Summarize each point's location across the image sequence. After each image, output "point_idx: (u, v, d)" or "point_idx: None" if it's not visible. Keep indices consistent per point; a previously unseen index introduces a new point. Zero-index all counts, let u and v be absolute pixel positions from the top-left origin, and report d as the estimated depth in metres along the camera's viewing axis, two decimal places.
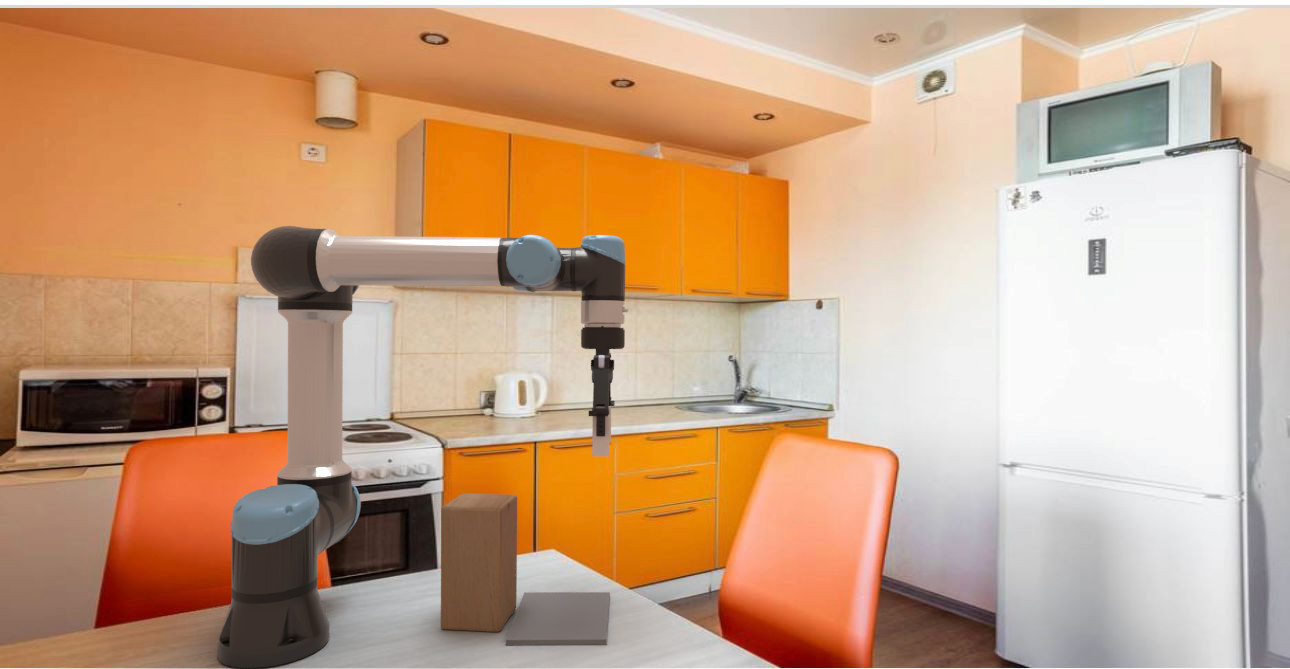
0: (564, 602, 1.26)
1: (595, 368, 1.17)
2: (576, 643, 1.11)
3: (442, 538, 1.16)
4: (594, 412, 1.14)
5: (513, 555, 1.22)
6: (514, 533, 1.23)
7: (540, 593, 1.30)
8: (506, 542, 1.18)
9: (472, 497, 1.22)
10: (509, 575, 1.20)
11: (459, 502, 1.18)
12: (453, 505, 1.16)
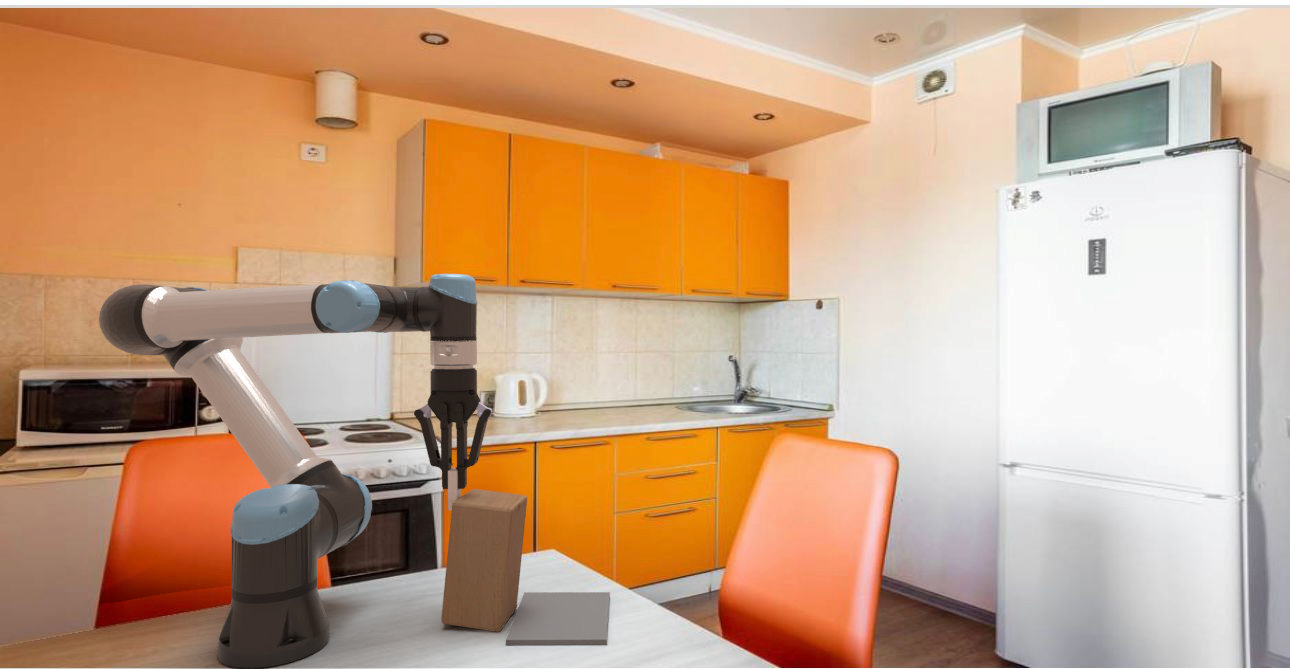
0: (564, 602, 1.26)
1: None
2: (576, 643, 1.11)
3: (450, 533, 1.15)
4: None
5: (518, 555, 1.22)
6: (521, 533, 1.22)
7: (540, 593, 1.30)
8: (513, 543, 1.18)
9: (483, 494, 1.22)
10: (513, 575, 1.20)
11: (470, 498, 1.18)
12: (464, 501, 1.16)
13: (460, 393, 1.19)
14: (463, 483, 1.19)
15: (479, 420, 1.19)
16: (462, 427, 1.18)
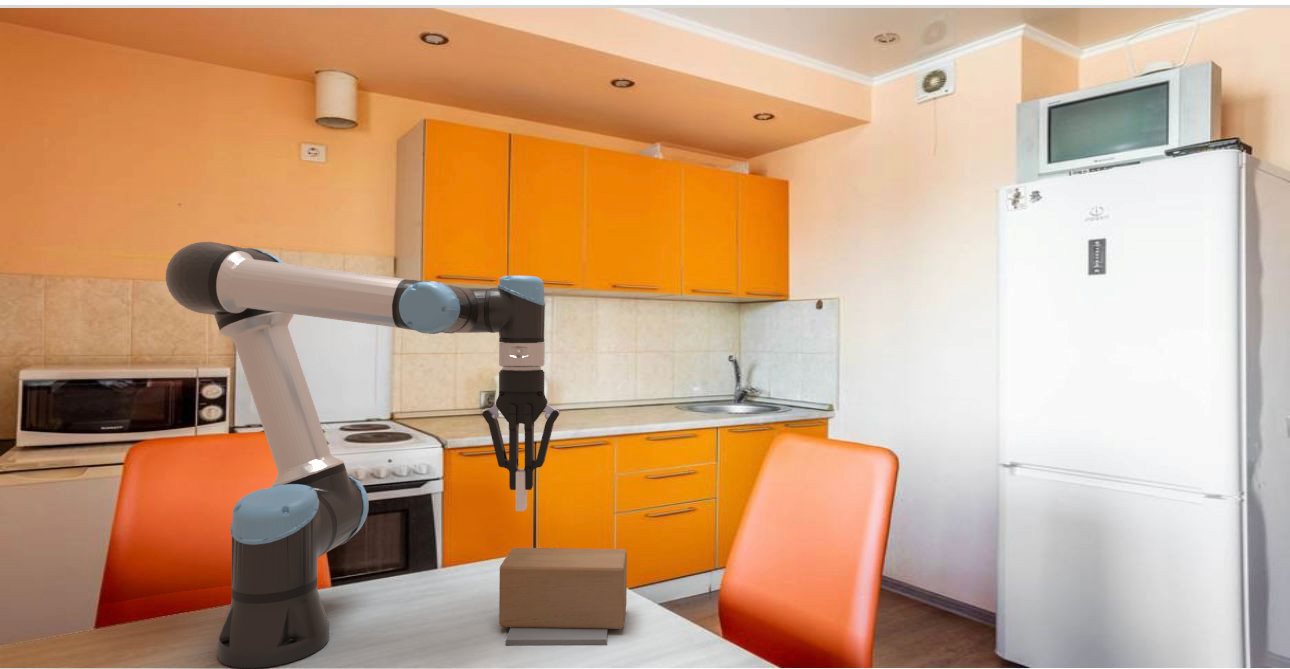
0: None
1: None
2: (576, 643, 1.11)
3: (591, 569, 1.14)
4: None
5: None
6: None
7: None
8: None
9: None
10: None
11: None
12: (624, 577, 1.15)
13: (528, 394, 1.19)
14: (530, 484, 1.20)
15: (547, 421, 1.19)
16: (530, 428, 1.19)
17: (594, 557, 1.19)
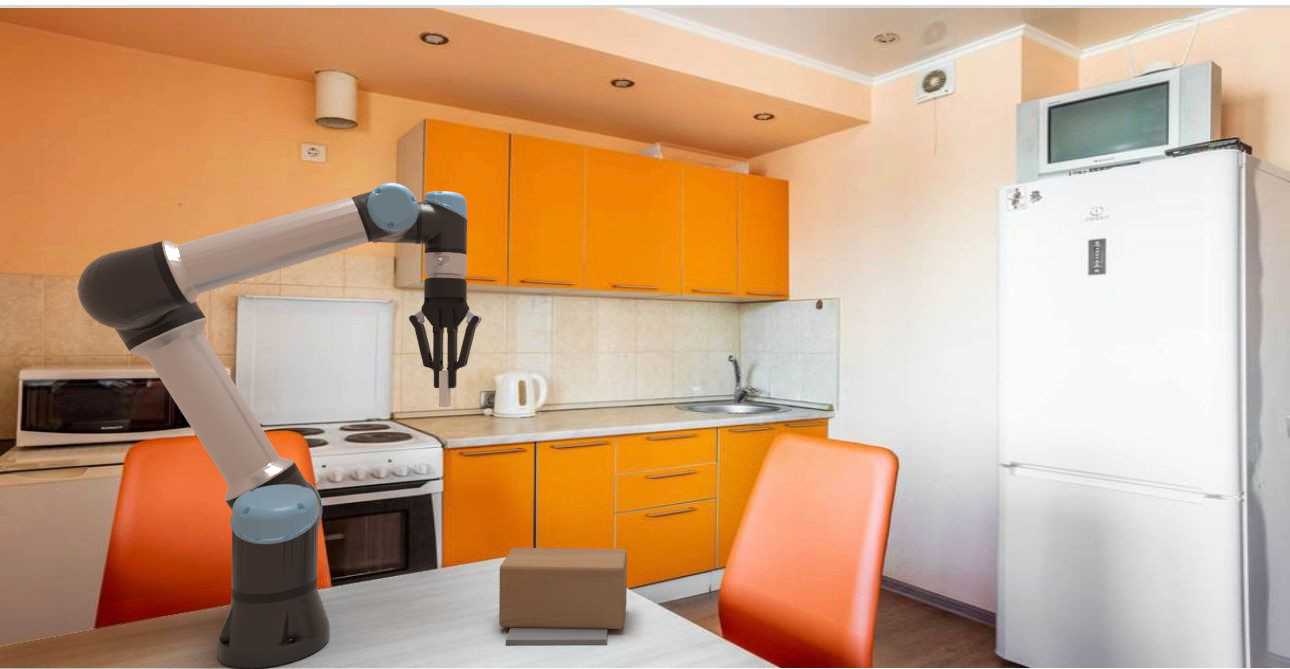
0: None
1: None
2: (576, 643, 1.11)
3: (591, 569, 1.14)
4: None
5: None
6: None
7: None
8: None
9: None
10: None
11: None
12: (624, 577, 1.15)
13: (451, 301, 1.31)
14: (453, 383, 1.31)
15: (468, 325, 1.31)
16: (452, 331, 1.30)
17: (594, 557, 1.19)
